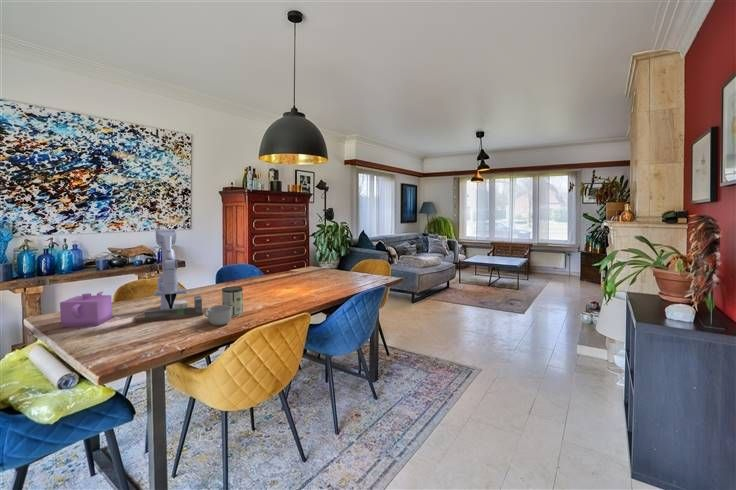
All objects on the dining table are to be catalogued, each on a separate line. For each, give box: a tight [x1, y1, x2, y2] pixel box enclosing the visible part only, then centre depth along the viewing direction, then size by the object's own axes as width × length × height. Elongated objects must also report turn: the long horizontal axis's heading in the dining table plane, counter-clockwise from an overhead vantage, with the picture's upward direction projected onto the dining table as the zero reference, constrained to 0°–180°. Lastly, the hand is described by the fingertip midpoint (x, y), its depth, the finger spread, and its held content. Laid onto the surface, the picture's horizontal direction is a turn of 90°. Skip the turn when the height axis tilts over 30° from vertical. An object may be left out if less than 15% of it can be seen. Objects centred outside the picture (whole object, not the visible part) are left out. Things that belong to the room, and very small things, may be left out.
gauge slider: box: [173, 300, 188, 309], centre depth 186 cm, size 9×6×5 cm
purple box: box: [59, 291, 113, 328], centre depth 173 cm, size 15×25×14 cm, turn 11°
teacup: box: [202, 304, 232, 327], centre depth 175 cm, size 14×11×8 cm
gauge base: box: [134, 294, 204, 324], centre depth 185 cm, size 12×30×8 cm, turn 119°
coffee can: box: [221, 286, 244, 318], centre depth 190 cm, size 10×10×14 cm
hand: (171, 308), depth 185 cm, fingers closed
